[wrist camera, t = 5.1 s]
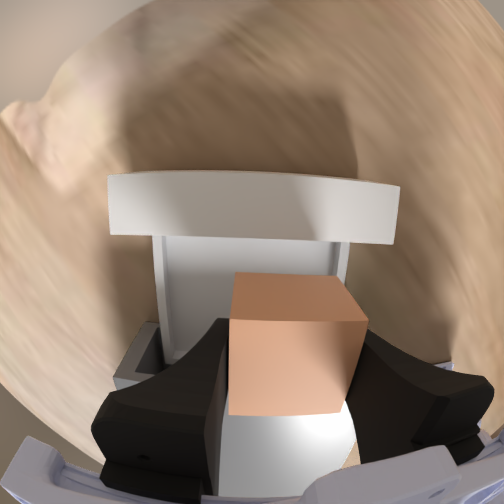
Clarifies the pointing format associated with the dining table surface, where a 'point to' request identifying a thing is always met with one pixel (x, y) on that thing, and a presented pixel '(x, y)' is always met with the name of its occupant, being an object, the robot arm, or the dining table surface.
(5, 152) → the dining table surface
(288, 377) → the block
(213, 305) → the tray
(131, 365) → the housing
